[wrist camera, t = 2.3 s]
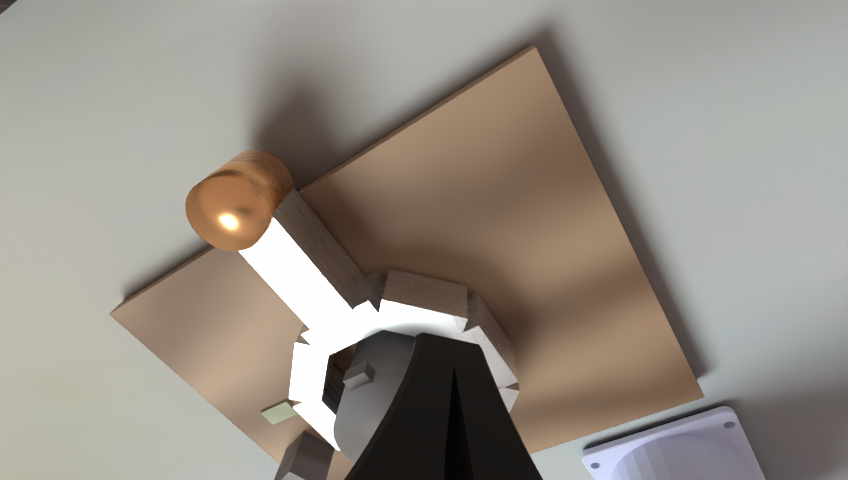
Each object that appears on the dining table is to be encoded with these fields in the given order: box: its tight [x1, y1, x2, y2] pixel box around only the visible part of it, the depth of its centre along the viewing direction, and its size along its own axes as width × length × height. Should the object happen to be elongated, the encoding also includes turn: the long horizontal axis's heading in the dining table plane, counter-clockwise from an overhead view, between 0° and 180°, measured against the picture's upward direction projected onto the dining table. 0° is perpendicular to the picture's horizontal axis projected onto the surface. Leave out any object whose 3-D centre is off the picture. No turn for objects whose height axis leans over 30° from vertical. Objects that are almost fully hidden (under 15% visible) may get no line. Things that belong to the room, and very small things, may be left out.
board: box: [109, 44, 704, 480], centre depth 20 cm, size 18×22×6 cm
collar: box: [186, 150, 520, 451], centre depth 19 cm, size 16×9×3 cm, turn 32°
